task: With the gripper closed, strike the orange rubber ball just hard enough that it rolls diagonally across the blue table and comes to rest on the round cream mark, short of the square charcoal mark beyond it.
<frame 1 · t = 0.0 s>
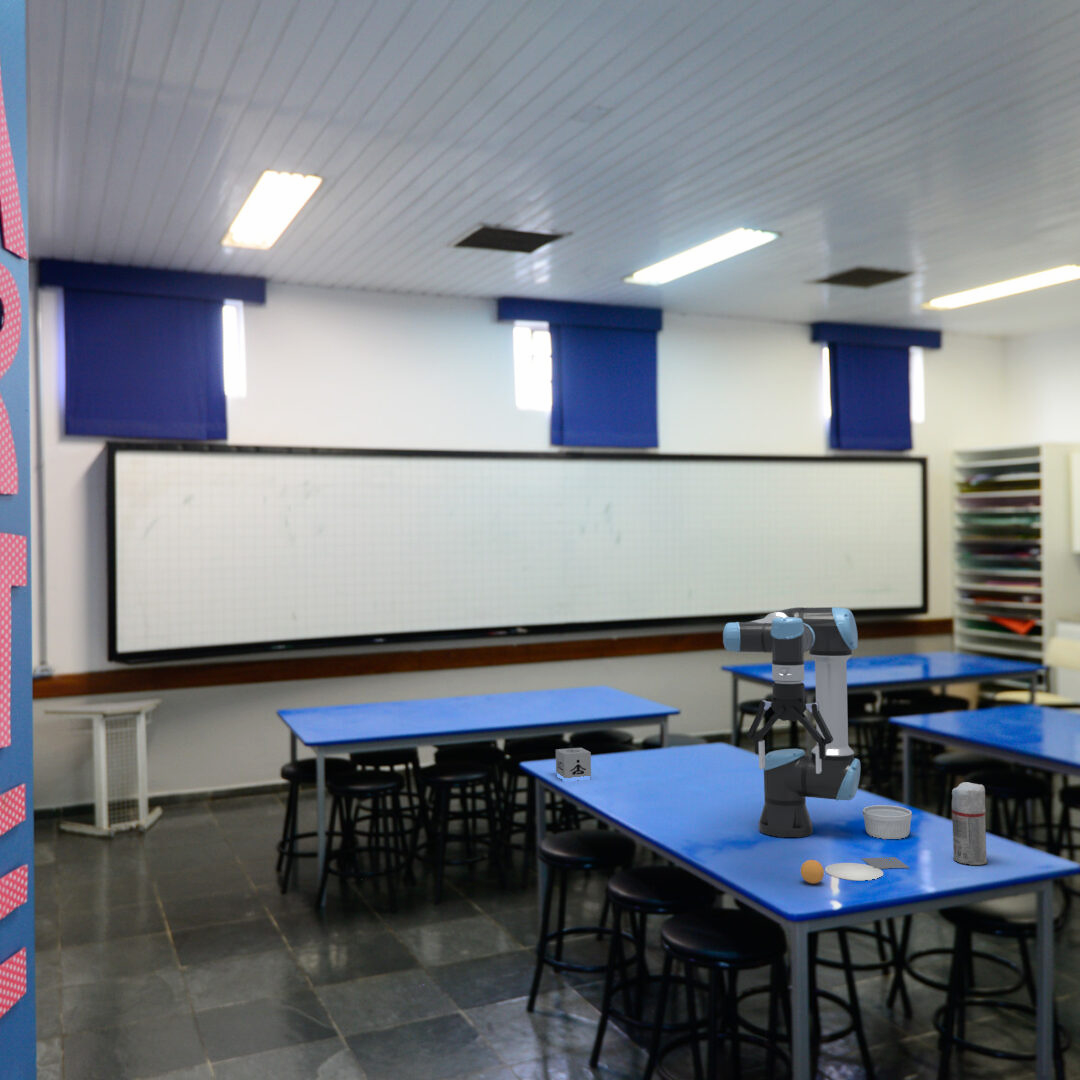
hand: (790, 770, 244), 28 cm above the table, tool pointing down, fingers open, 13 cm apart
ramekin: (887, 835, 288), on the table
far mark: (885, 863, 261), on the table
ball: (812, 871, 246), on the table
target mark: (853, 871, 254), on the table
spray can: (970, 862, 262), on the table
icon cube: (573, 779, 369), on the table
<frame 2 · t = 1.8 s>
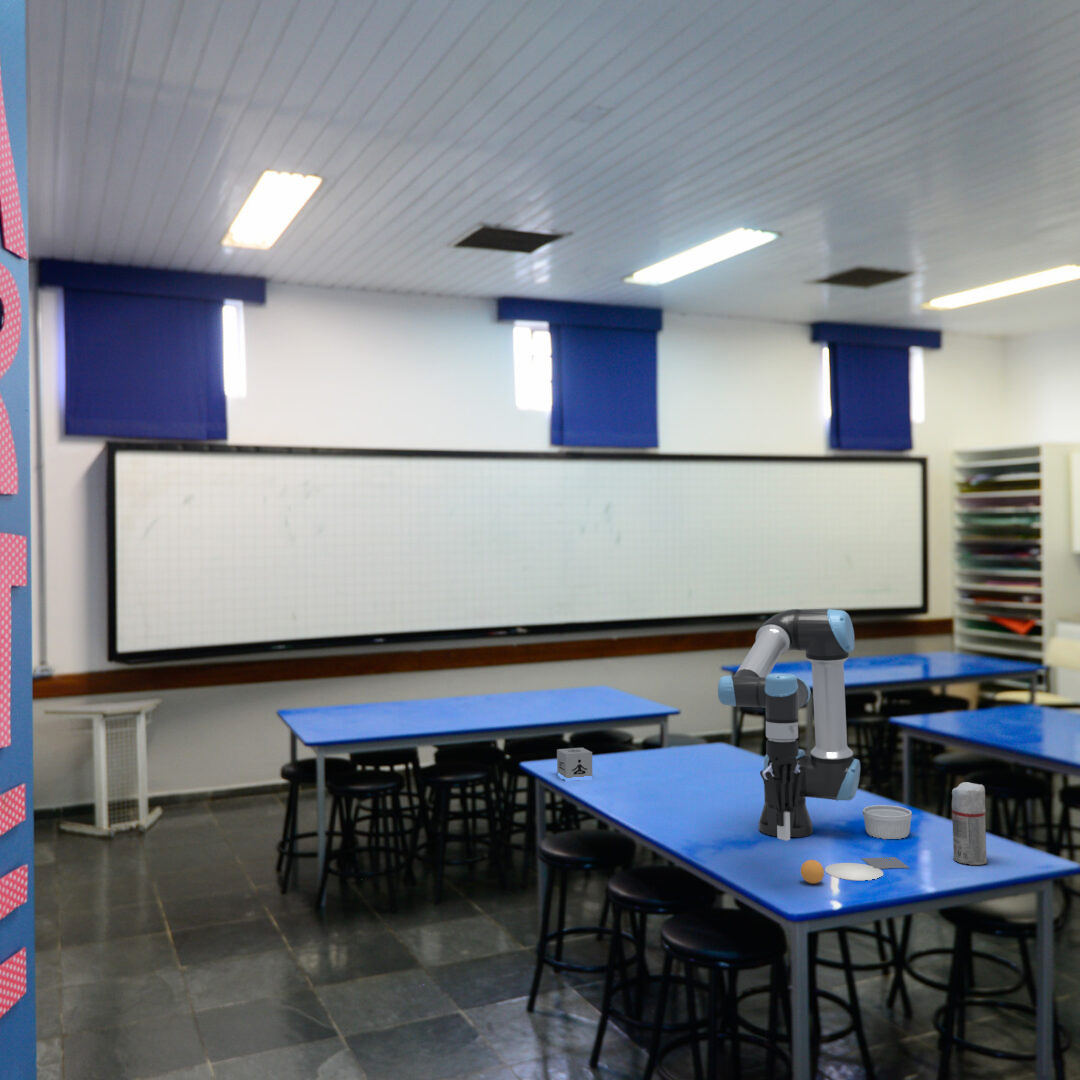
hand: (783, 838, 241), 12 cm above the table, tool pointing down, fingers closed
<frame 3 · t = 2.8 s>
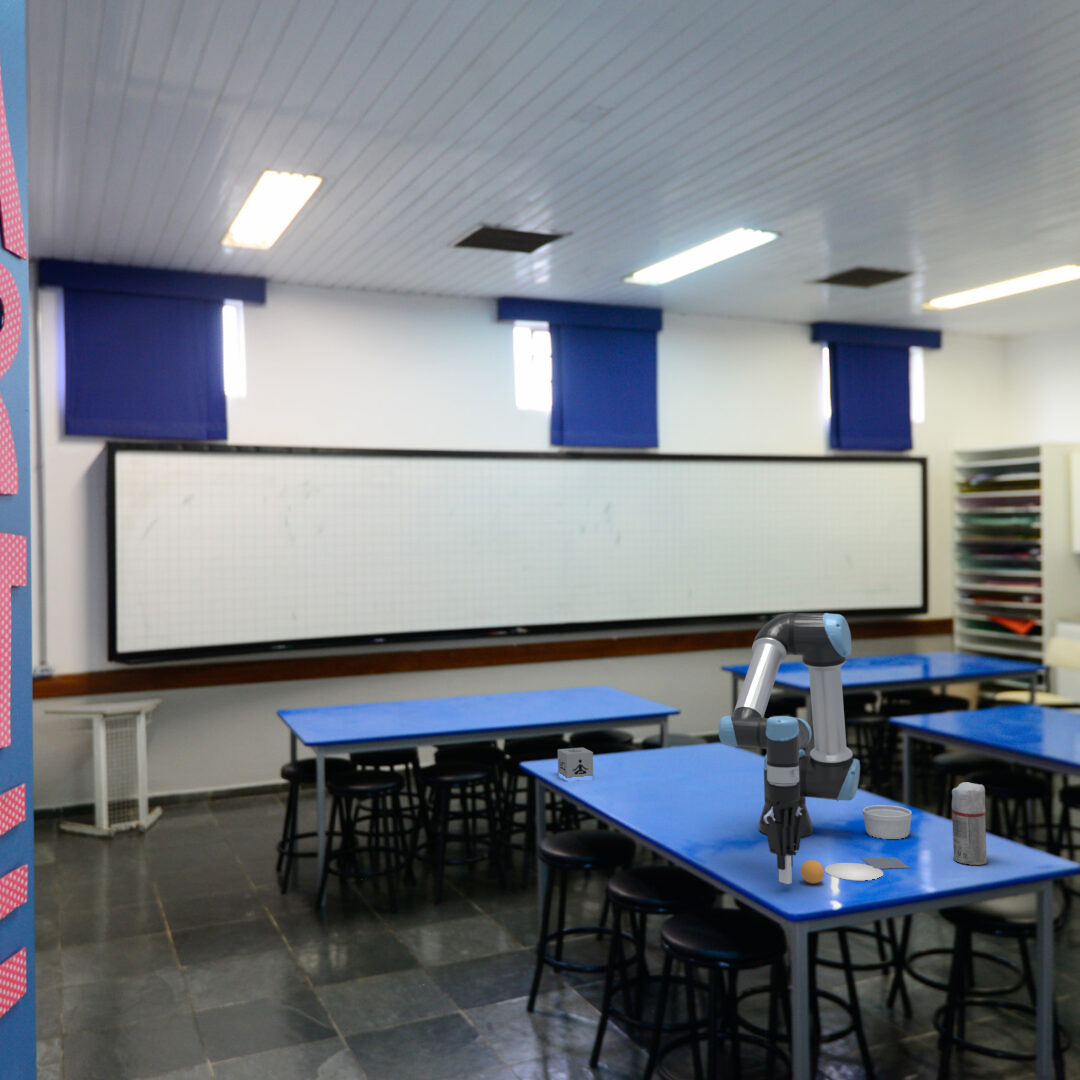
hand: (785, 882, 241), 2 cm above the table, tool pointing down, fingers closed
nothing on the table moved.
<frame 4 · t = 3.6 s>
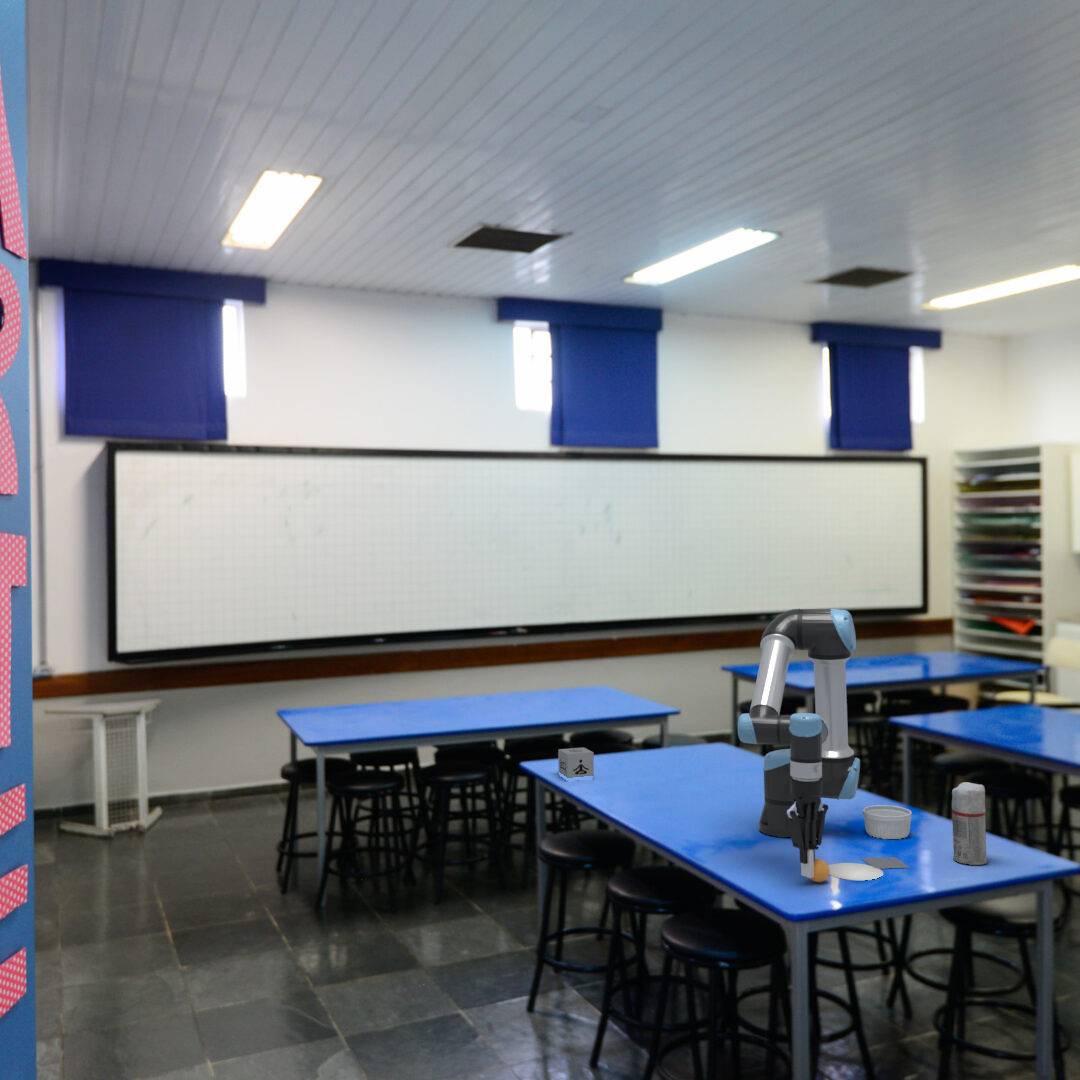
hand: (807, 876, 246), 2 cm above the table, tool pointing down, fingers closed
ball: (817, 870, 247), on the table, touching gripper
everything else where it was.
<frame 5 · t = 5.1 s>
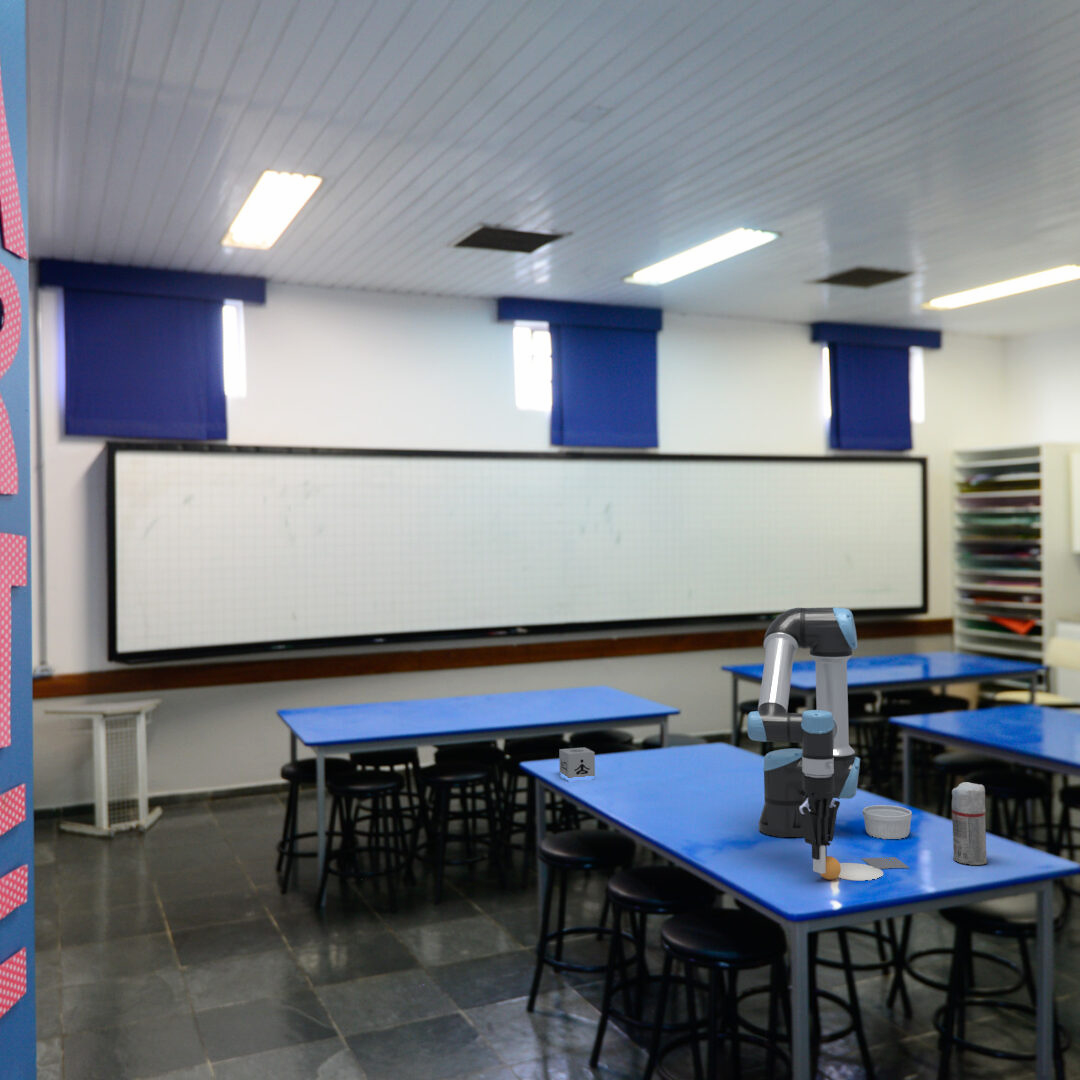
hand: (819, 871, 247), 2 cm above the table, tool pointing down, fingers closed
ball: (829, 867, 249), on the table, touching gripper
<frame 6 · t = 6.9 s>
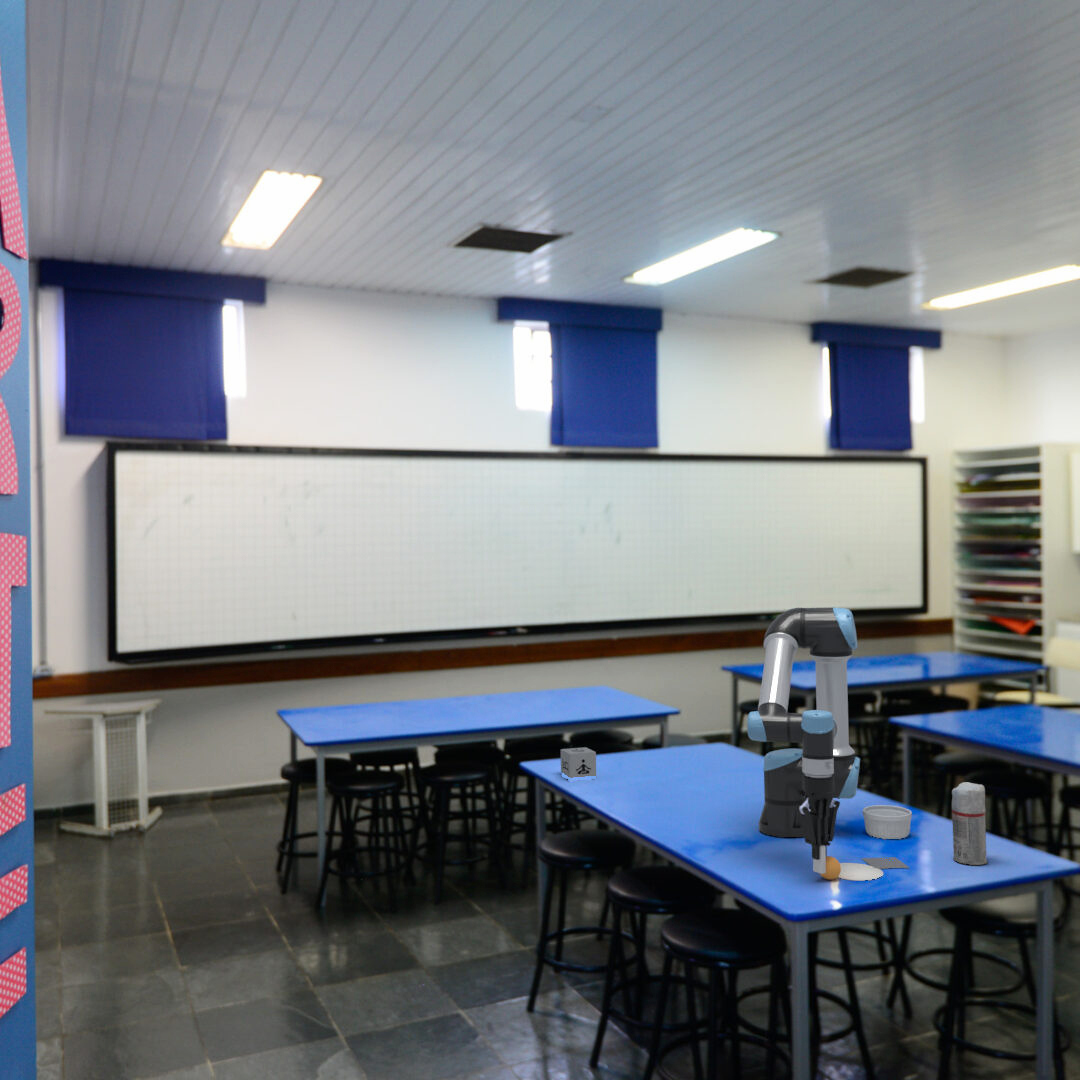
hand: (819, 871, 247), 2 cm above the table, tool pointing down, fingers closed
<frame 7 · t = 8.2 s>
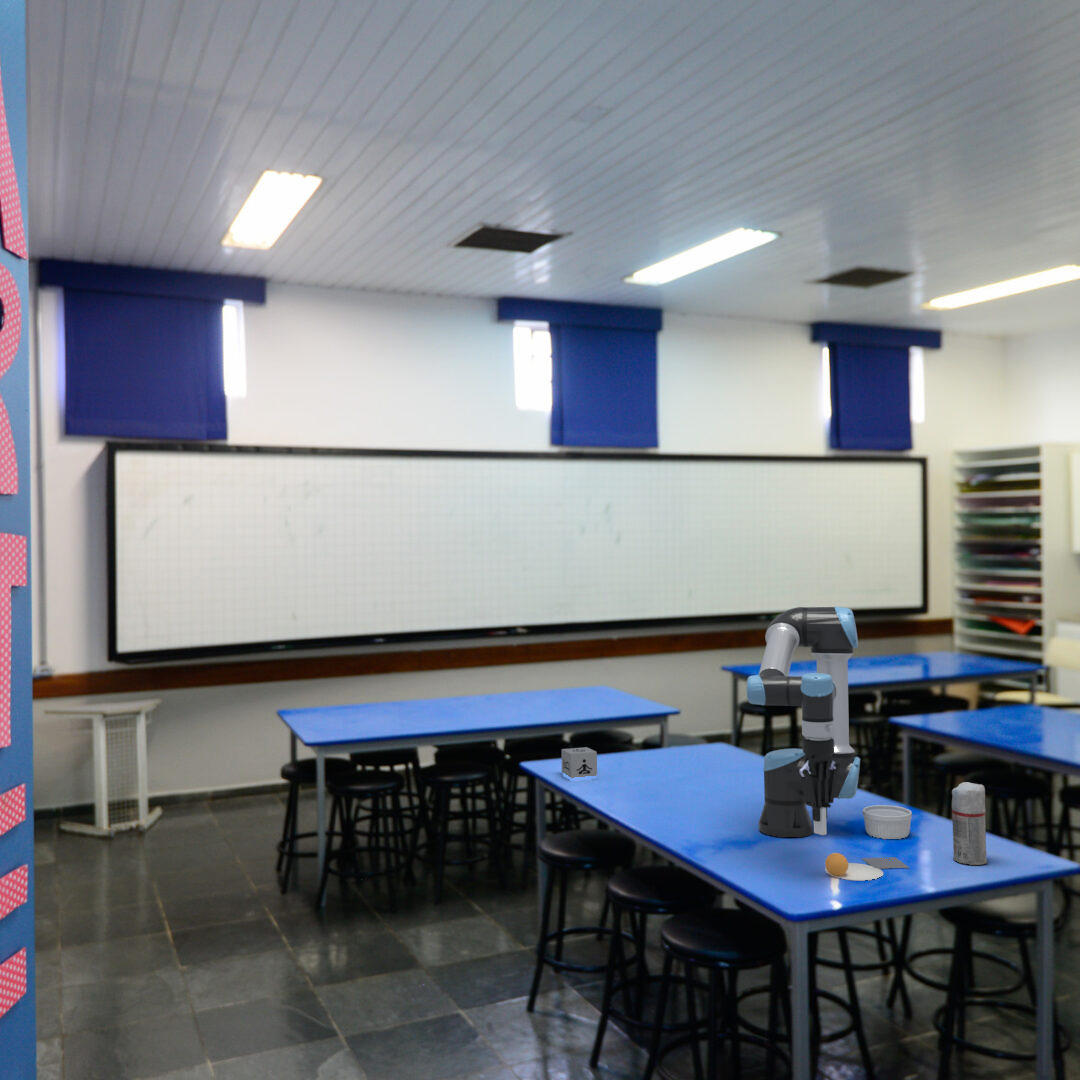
hand: (820, 833, 249), 11 cm above the table, tool pointing down, fingers closed
ball: (836, 864, 252), on the table
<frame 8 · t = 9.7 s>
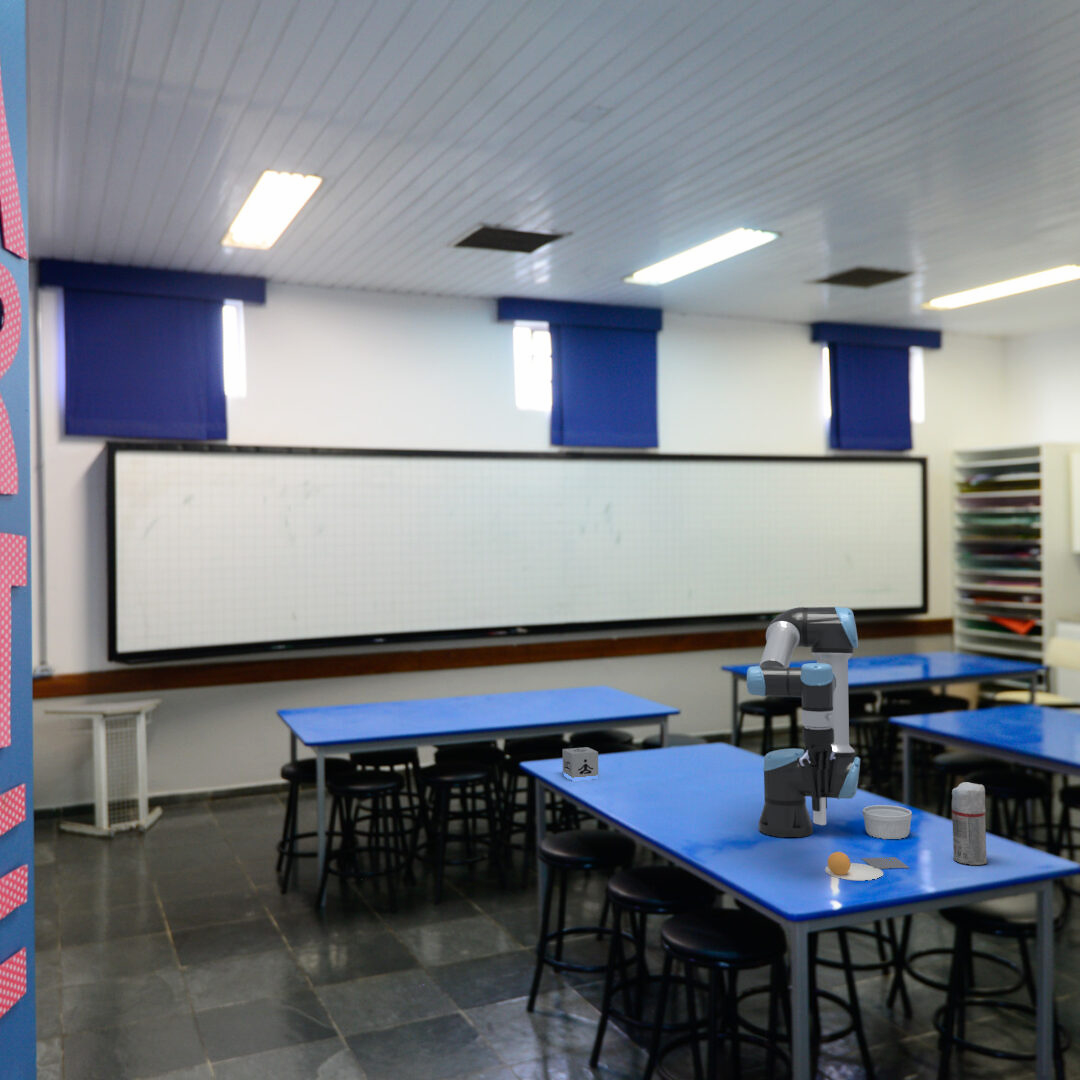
hand: (819, 823, 248), 14 cm above the table, tool pointing down, fingers closed
ball: (839, 863, 253), on the table
at the end: ball 4.6 cm from the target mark (horizontally); ball at rest at the end (0.0 cm/s); ball moved 10.5 cm from its start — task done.
